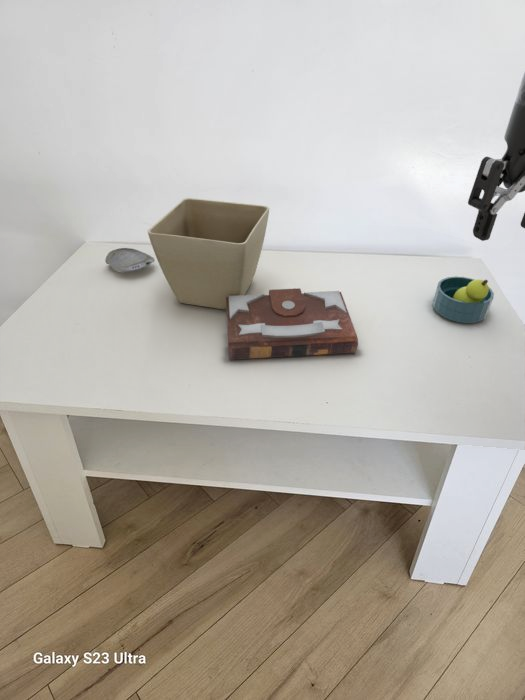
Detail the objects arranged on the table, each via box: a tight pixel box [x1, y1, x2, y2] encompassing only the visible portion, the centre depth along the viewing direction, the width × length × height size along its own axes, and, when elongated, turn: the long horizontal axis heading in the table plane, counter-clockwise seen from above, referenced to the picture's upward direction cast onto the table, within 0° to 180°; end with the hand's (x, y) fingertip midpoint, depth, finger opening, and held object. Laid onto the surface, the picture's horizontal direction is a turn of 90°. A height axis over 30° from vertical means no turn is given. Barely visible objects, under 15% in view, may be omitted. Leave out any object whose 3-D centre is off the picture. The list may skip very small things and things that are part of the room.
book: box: [226, 287, 359, 360], centre depth 87 cm, size 23×16×5 cm
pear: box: [453, 279, 490, 303], centre depth 91 cm, size 5×5×9 cm
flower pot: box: [147, 197, 270, 311], centre depth 95 cm, size 19×19×17 cm
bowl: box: [432, 276, 495, 324], centre depth 94 cm, size 11×11×5 cm
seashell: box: [104, 247, 156, 273], centre depth 106 cm, size 12×8×5 cm
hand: (504, 233), depth 63 cm, fingers open, 8 cm apart
